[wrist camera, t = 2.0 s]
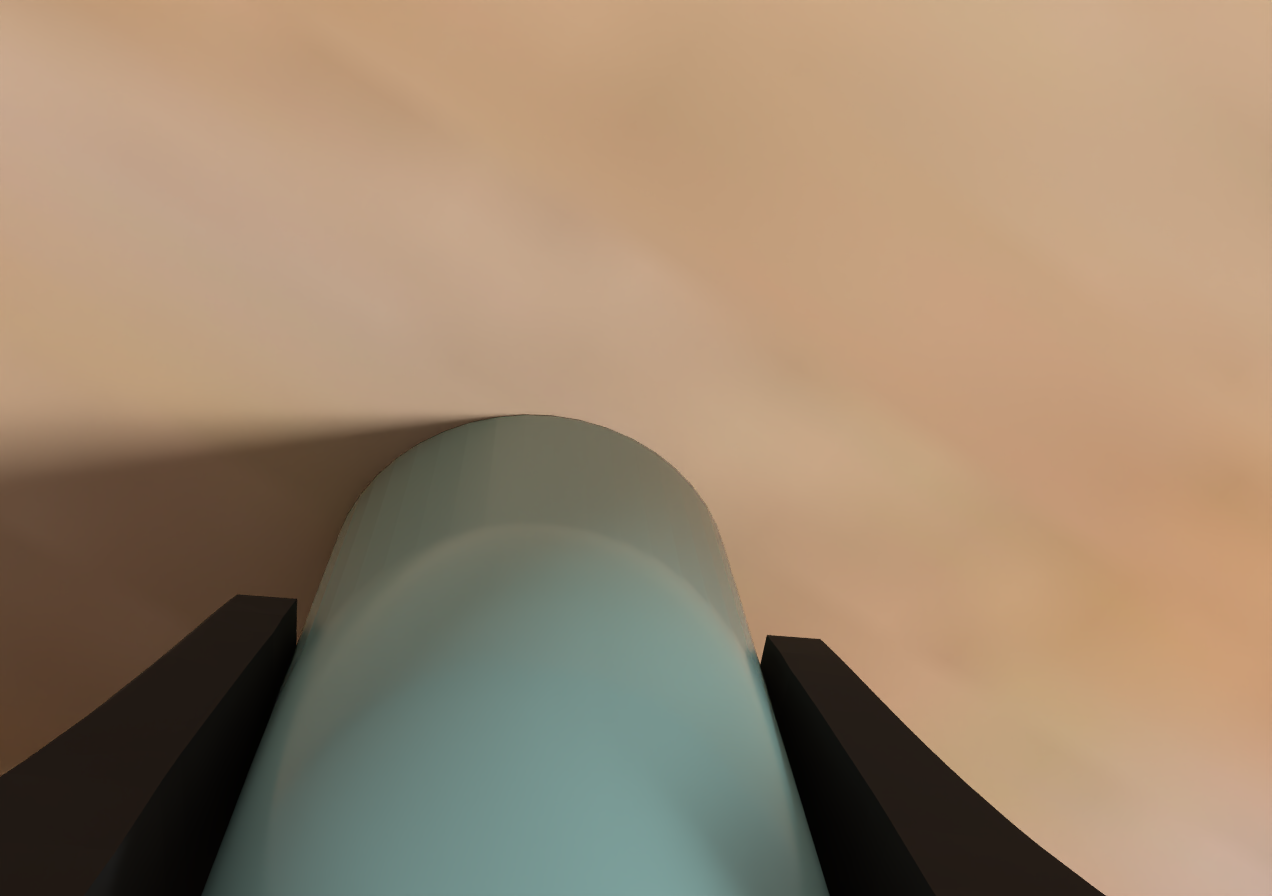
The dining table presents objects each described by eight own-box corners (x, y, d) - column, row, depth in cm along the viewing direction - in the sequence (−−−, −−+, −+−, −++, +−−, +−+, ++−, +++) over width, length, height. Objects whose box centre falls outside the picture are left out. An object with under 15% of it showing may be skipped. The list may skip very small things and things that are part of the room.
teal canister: (695, 765, 14) (807, 1383, 8) (325, 743, 14) (133, 1395, 8) (762, 437, 12) (980, 915, 6) (334, 393, 12) (82, 876, 6)
